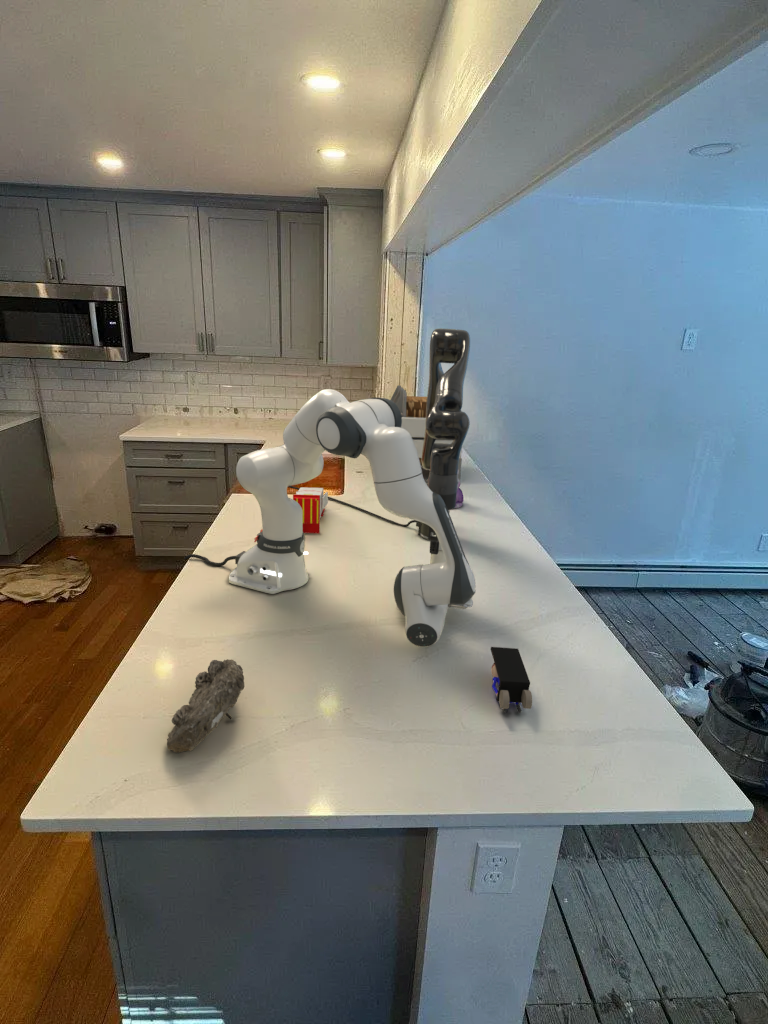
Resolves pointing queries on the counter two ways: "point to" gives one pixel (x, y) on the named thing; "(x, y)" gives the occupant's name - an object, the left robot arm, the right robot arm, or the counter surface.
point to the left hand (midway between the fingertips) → (437, 578)
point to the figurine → (459, 495)
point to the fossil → (206, 705)
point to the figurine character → (510, 678)
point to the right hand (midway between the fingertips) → (437, 547)
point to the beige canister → (437, 557)
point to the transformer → (416, 420)
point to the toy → (311, 507)
